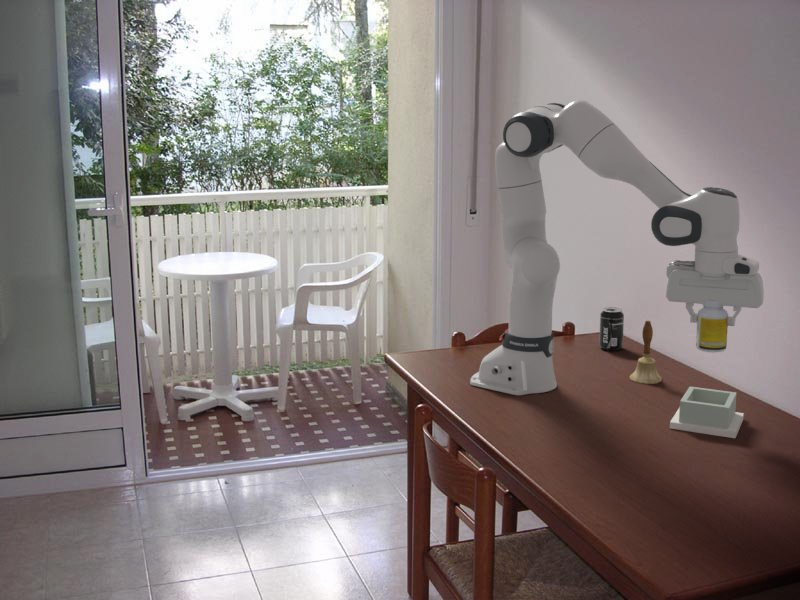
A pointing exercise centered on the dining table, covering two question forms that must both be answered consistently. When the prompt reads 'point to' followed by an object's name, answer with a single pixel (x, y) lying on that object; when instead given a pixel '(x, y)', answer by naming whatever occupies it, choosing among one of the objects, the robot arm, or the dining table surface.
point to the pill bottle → (712, 327)
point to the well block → (708, 413)
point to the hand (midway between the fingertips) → (712, 323)
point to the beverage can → (611, 328)
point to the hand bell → (646, 361)
